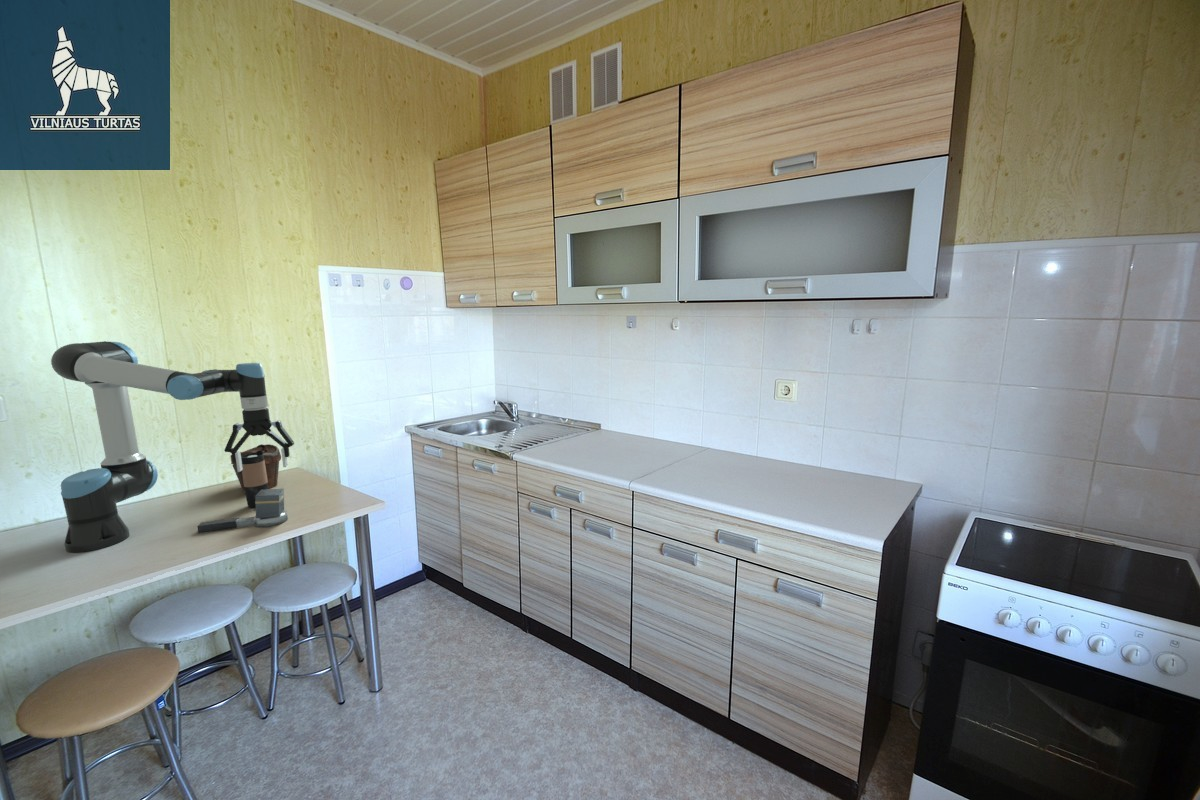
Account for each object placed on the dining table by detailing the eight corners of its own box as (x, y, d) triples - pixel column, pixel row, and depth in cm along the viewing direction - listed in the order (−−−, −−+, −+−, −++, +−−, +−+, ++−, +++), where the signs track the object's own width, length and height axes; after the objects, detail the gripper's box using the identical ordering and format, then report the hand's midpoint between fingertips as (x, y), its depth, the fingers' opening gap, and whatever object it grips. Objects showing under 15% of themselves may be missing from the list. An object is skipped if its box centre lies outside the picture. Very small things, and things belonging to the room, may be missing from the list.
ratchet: (194, 537, 170) (190, 515, 169) (206, 525, 179) (202, 505, 178) (283, 524, 178) (281, 504, 177) (290, 514, 188) (288, 495, 186)
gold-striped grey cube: (255, 518, 176) (255, 495, 175) (261, 511, 183) (261, 489, 182) (279, 517, 179) (279, 495, 178) (284, 510, 185) (284, 488, 184)
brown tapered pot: (281, 476, 234) (275, 438, 230) (288, 487, 218) (282, 446, 215) (233, 486, 223) (226, 446, 219) (238, 498, 207) (230, 455, 204)
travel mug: (275, 501, 201) (268, 452, 198) (260, 509, 194) (253, 458, 191) (257, 501, 202) (250, 452, 199) (242, 508, 195) (234, 458, 191)
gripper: (207, 413, 167) (216, 475, 171) (294, 407, 175) (301, 467, 179) (215, 409, 174) (224, 469, 178) (299, 404, 182) (305, 461, 186)
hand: (263, 468), depth 178 cm, fingers open, 13 cm apart
